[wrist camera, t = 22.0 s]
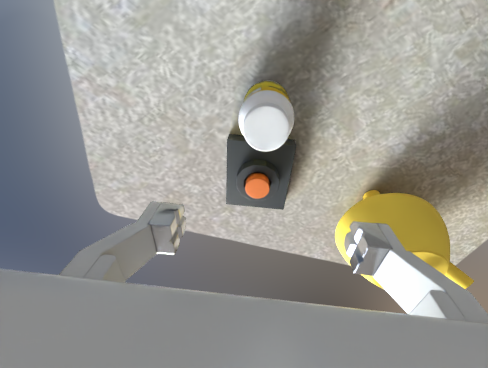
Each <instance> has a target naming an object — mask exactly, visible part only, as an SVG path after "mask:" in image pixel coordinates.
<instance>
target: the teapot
mask: <svg viewBox="0 0 488 368" xmlns="http://www.w3.org/2000/svg"><path fill="white" fill-rule="evenodd" d="M353 221H357V222H368V223H382V224H387V225H389V226H390V228H391V229H392V231H393V232H394V234H395V235H396V237H397V238H398V240H399V241H400V243H401V244H402V246H403V247H404V248H405V250H406V251H410V252H411V253H413V254H414V255H416V256H417V257H419V258H420V259H422V260H423V261H425V262H426V263H427V264H429V265H430V266H432V267H433V268H435V269H436V270H438V271H439V272H441V273H442V274H444V275H445V276H446V277H448V278H449V279H451V280H452V281H454V282H455V283H457V284H458V285H460V286H461V287H463V288H464V289H466V288H467V287H469V286H470V285H471V284H472V283H473V282H474V280H472V279H471V278H470V277H469V276H467V275H466V274H465V273H464V272H462V271H461V270H460V269H458V268H457V267H456V266H455V265H453V264H452V263H451V262H450V240H449V235H448V231H447V228H446V225H445V223H444V221H443V219H442V217H441V216H440V214H439V213H438V211H437V210H436V209H435V208H434V207H433V206H432V205H431V204H430V203H429V202H427V201H426V200H424V199H422V198H420V197H417V196H414V195H410V194H404V193H386V194H380V192H379V191H377V190H370V191H368V192H366V193H365V194H364V196H363V200H361V201H360V202H358V203H356V204H355V205H354V206H352V207H351V208H350V209H349V210H348V211H347V212H346V213H345V214H344V215H343V217H342V218H341V219H340V221H339V223H338V225H337V227H336V232H335V240H336V243H337V246H338V248H339V250H340V252H341V254H342V255H343V257H344V258H345V260H346V261H347V262H348V263H349V264H350V262H349V261H350V259H351V257H350V256H349V255H348V254H346V251H345V248H344V239H345V236H346V234H347V233H349V232H350V231H351V230H350V228H349V227H350V225H351V223H352V222H353ZM350 265H351V264H350ZM362 276H364V277H365V278H366V279H368V280H369V281H371V282H372V283H374V284H375V285H377V286H379V287H381V288H383V287H382V286H381V285H380V284H379V283H378V282H377V281H376V280H375V279H374V278H373V276H368V275H362ZM383 289H384V288H383Z"/></svg>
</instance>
